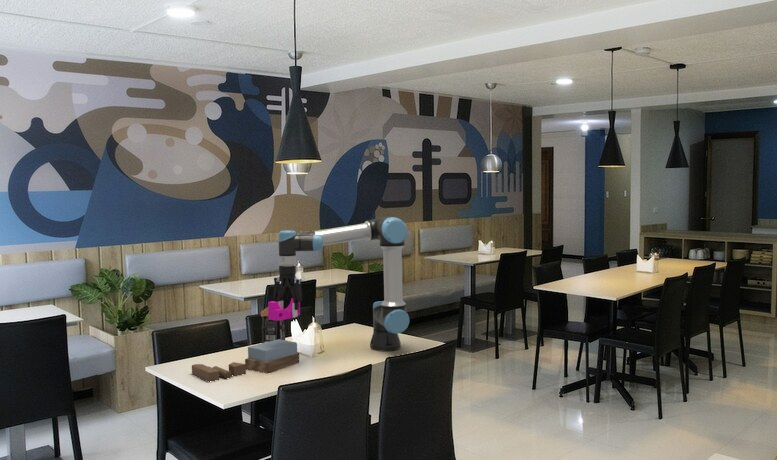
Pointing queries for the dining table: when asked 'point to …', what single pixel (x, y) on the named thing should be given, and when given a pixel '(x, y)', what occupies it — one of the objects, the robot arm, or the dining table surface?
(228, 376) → the wooden block set
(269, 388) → the dining table surface
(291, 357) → the tower base slab
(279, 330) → the whiskey bottle
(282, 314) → the toy block
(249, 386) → the dining table surface
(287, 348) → the tower cap slab
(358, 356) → the dining table surface
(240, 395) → the dining table surface
